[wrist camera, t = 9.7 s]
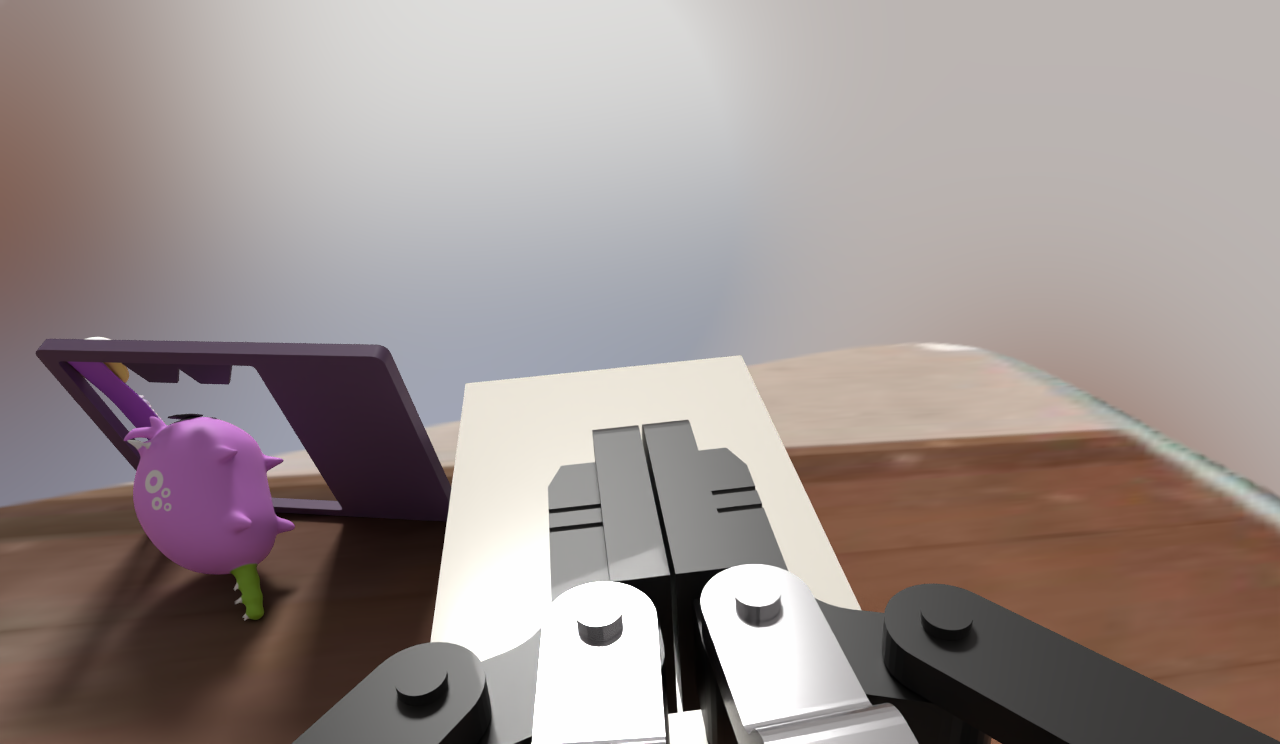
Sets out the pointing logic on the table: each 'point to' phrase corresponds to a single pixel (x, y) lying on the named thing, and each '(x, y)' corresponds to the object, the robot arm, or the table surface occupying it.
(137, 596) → the table surface
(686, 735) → the off-white rectangular block
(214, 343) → the purple frame
